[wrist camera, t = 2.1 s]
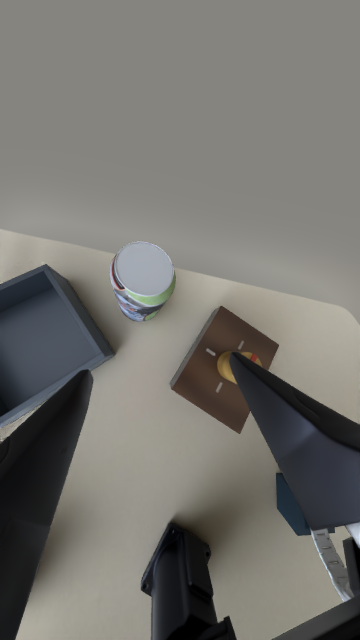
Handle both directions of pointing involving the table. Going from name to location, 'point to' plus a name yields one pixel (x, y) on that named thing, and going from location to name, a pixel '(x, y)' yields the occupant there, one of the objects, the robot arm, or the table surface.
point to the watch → (321, 537)
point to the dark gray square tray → (43, 340)
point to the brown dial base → (202, 373)
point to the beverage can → (142, 279)
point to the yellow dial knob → (225, 367)
